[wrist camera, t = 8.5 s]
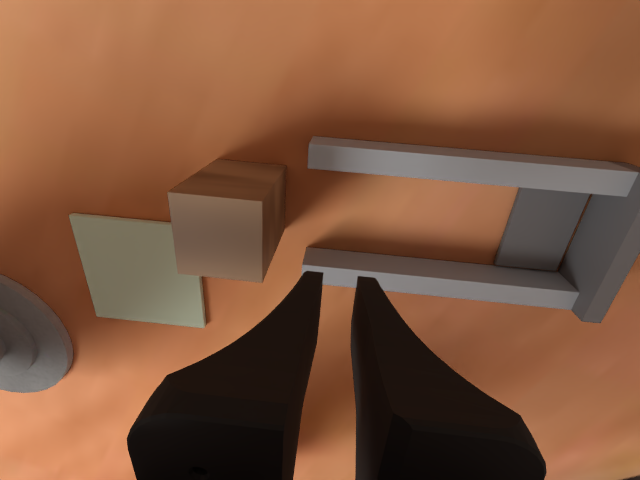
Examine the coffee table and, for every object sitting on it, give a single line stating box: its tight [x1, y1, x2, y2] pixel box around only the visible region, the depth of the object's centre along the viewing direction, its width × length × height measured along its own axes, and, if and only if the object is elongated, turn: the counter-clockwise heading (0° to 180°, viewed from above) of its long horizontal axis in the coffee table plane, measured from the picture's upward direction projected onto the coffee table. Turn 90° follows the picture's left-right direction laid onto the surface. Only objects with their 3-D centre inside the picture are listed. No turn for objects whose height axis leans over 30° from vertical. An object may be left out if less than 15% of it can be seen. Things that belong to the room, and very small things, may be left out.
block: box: [167, 159, 286, 283], centre depth 18 cm, size 4×4×6 cm
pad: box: [69, 213, 206, 328], centre depth 23 cm, size 8×8×1 cm
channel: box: [302, 136, 640, 323], centre depth 19 cm, size 8×16×3 cm, turn 86°
